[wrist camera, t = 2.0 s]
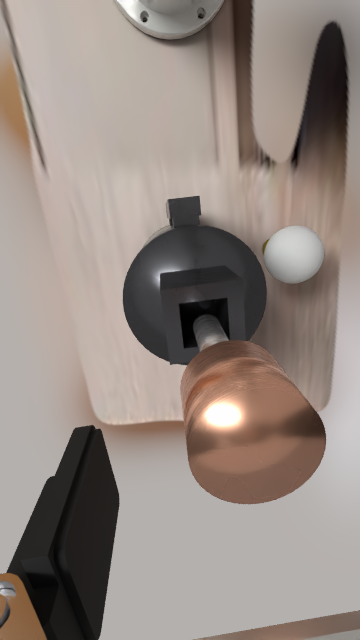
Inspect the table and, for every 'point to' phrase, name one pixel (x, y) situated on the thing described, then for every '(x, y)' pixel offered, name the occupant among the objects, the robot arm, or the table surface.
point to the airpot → (191, 284)
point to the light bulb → (293, 254)
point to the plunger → (246, 420)
